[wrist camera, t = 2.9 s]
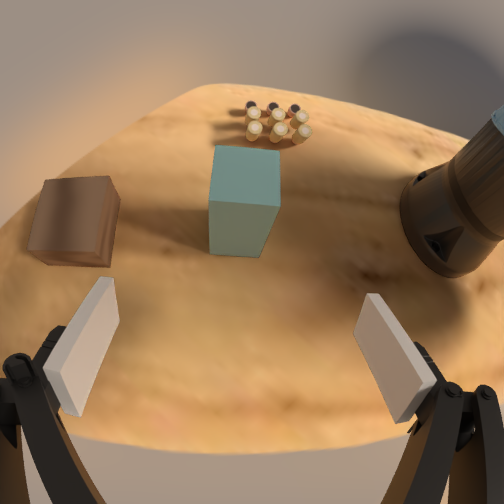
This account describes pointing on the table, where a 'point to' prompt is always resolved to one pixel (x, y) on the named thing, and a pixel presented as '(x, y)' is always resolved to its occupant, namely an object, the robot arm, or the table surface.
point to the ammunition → (277, 122)
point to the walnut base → (75, 222)
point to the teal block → (243, 199)
